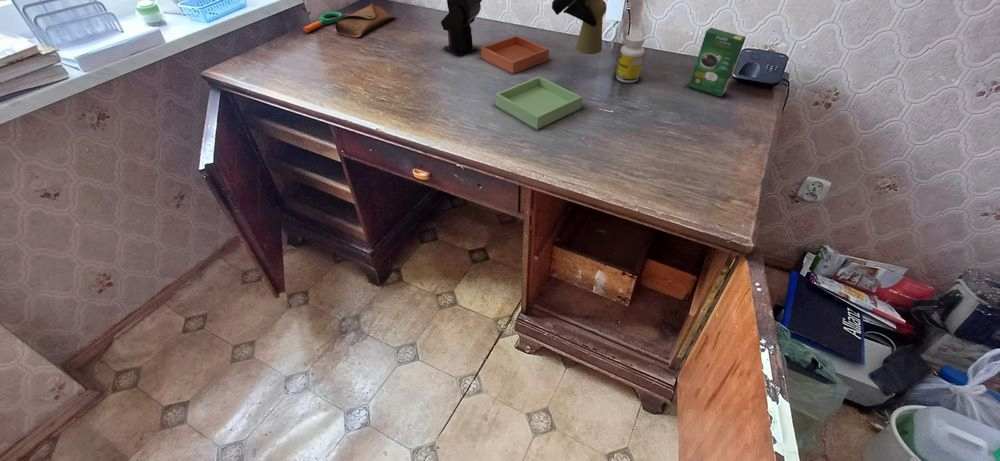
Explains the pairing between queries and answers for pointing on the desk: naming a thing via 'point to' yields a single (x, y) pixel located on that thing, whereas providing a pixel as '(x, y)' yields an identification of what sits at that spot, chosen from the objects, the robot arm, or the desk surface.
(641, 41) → the supplement bottle
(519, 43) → the terracotta tray
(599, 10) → the olive pepper mill
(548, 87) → the sage tray
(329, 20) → the magnifying glass
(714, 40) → the coffee box
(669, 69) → the desk surface
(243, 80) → the desk surface
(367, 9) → the sunglasses case
